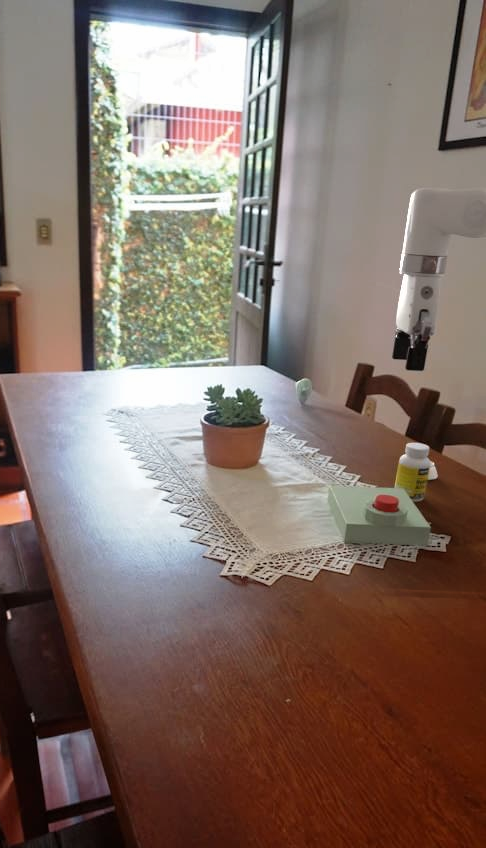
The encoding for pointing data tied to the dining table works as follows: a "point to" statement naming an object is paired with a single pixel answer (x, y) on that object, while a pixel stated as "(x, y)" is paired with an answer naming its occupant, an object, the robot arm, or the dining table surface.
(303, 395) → the pale green rock
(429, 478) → the small white bowl
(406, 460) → the supplement bottle
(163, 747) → the dining table surface
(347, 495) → the red button box
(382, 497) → the button
